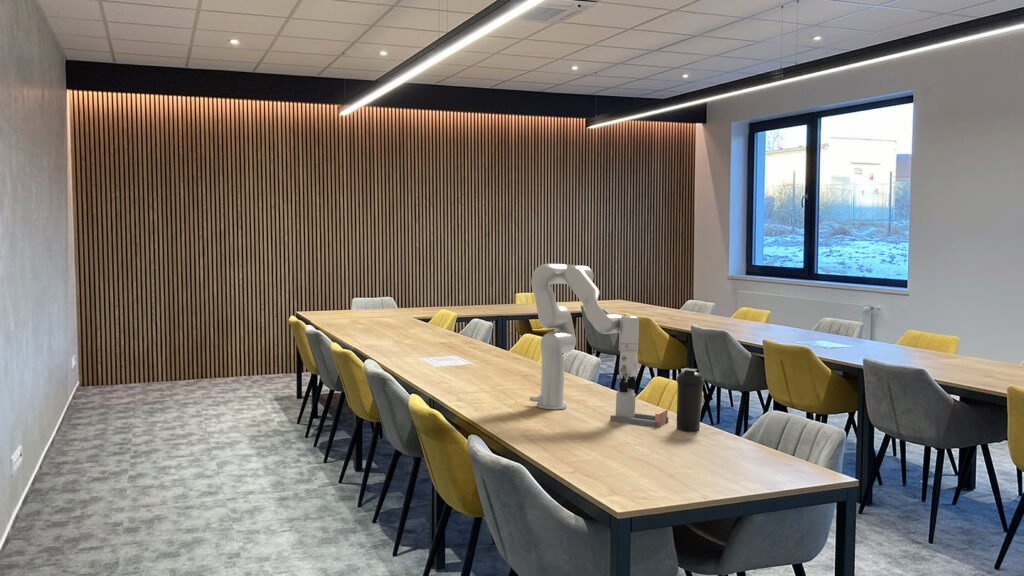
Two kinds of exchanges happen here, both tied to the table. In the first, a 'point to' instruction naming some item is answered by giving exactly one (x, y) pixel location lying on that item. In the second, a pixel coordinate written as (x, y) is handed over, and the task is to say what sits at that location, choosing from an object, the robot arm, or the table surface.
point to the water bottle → (689, 400)
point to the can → (625, 404)
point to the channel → (644, 419)
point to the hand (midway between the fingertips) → (627, 390)
